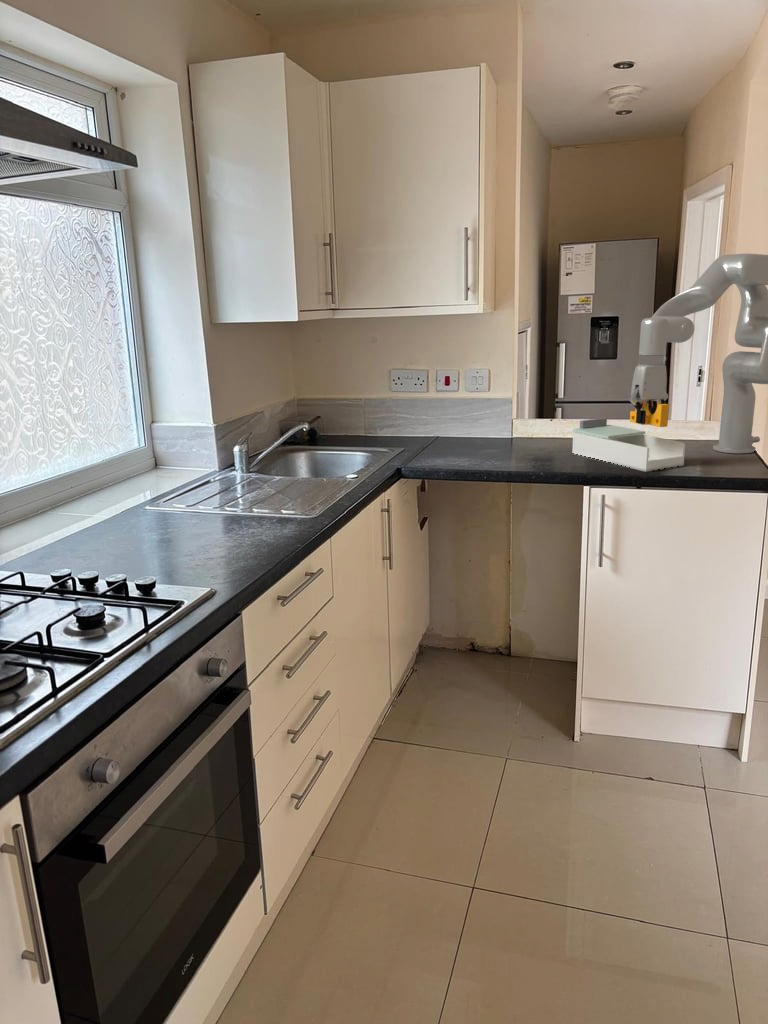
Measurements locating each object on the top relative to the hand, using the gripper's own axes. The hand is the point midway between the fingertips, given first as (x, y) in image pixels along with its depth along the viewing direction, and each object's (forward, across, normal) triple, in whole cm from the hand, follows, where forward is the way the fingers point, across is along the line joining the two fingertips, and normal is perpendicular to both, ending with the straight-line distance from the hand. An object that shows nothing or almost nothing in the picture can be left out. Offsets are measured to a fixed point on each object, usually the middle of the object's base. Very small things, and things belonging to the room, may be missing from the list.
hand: (647, 422), depth 234 cm
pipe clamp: (+1, 0, +1) cm, 1 cm away
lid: (+6, 0, -16) cm, 17 cm away
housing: (+13, 0, -8) cm, 15 cm away
